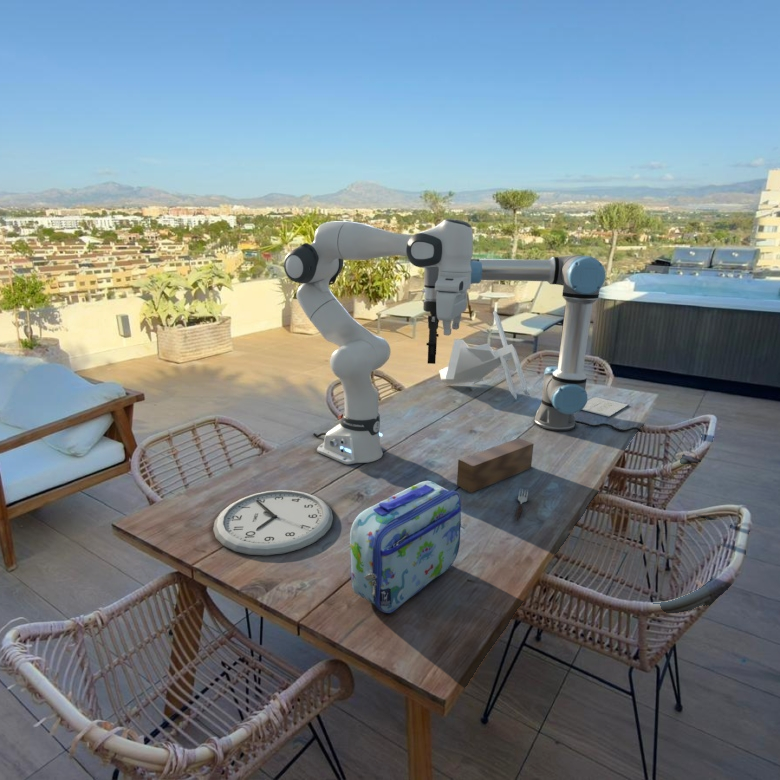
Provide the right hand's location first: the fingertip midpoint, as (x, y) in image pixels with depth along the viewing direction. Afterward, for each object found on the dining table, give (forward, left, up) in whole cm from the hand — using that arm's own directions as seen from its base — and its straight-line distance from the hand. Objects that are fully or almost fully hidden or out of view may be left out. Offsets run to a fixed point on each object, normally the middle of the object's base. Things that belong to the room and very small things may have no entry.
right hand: (431, 358), depth 189 cm
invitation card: (-73, -39, -28) cm, 87 cm away
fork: (-28, +54, -28) cm, 67 cm away
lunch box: (0, +90, -28) cm, 94 cm away
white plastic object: (-21, -51, -28) cm, 62 cm away
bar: (-22, +36, -28) cm, 50 cm away
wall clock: (+36, +70, -28) cm, 84 cm away
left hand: (-6, +39, +18) cm, 43 cm away
